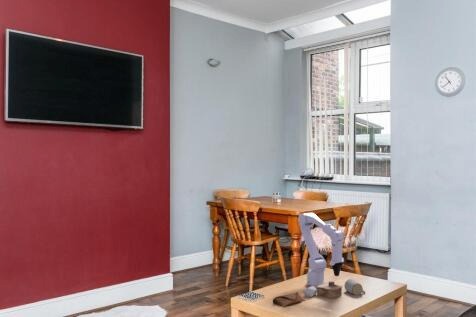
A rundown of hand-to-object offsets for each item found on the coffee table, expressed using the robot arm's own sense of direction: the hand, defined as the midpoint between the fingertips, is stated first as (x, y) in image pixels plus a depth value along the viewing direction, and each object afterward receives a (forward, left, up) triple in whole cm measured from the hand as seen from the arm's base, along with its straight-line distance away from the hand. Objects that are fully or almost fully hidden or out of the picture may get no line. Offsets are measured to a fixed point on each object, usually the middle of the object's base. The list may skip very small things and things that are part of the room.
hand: (336, 275), depth 246 cm
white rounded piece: (-9, -17, -9) cm, 21 cm away
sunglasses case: (-11, -32, -10) cm, 36 cm away
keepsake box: (0, -9, -9) cm, 13 cm away
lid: (0, -9, -5) cm, 10 cm away
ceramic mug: (+10, +5, -10) cm, 14 cm away
